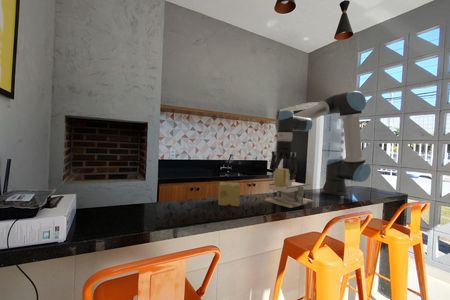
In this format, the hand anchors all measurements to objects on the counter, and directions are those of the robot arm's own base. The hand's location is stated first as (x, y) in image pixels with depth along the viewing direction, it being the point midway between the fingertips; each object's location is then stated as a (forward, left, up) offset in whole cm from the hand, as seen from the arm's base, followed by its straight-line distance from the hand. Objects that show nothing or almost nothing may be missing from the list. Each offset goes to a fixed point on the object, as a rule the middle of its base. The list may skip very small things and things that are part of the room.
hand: (282, 184), depth 120 cm
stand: (-8, 0, -10) cm, 12 cm away
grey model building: (-8, 0, -6) cm, 9 cm away
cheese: (+24, -14, -10) cm, 30 cm away
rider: (0, 0, -1) cm, 1 cm away
